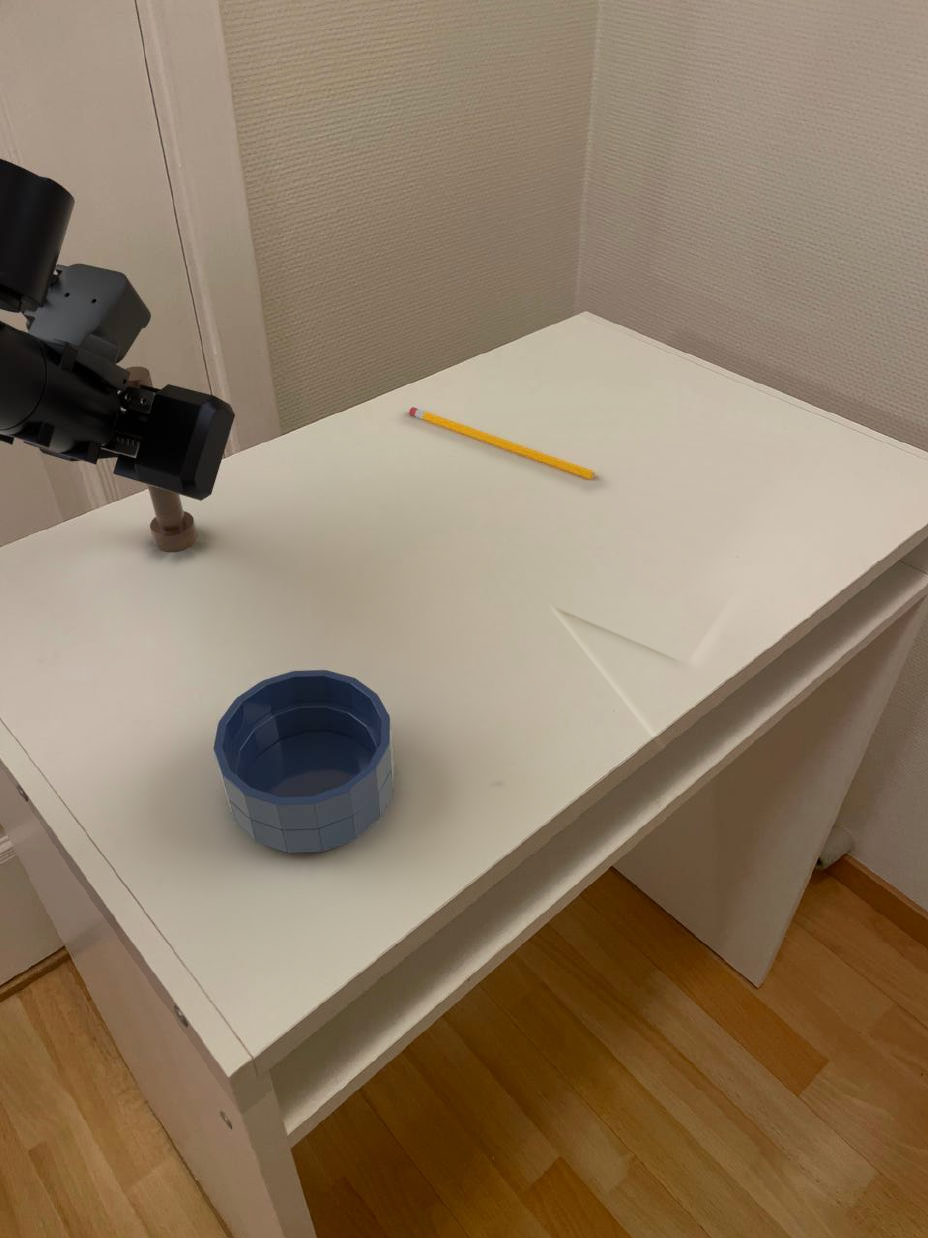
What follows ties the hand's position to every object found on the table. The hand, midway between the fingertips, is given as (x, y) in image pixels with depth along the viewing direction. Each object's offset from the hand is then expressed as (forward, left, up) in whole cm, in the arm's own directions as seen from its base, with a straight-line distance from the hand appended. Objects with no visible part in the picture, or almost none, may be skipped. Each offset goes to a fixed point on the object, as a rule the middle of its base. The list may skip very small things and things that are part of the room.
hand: (167, 449), depth 67 cm
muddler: (-1, -1, -7) cm, 7 cm away
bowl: (+1, -27, -7) cm, 28 cm away
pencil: (+27, +1, -7) cm, 28 cm away
